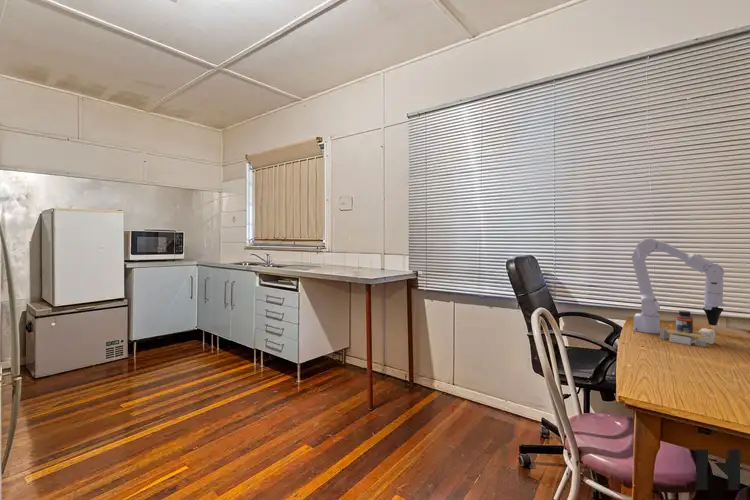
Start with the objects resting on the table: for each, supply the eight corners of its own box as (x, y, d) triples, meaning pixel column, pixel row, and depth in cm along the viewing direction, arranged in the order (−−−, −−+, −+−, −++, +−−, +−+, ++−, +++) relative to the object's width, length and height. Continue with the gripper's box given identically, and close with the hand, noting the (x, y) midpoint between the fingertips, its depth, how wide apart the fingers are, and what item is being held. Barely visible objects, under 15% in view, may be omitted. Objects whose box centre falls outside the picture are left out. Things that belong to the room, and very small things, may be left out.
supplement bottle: (686, 334, 178) (687, 309, 177) (695, 337, 172) (696, 312, 171) (672, 333, 178) (673, 309, 178) (681, 337, 172) (682, 312, 172)
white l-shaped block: (696, 343, 158) (696, 330, 158) (702, 340, 162) (702, 328, 162) (708, 345, 154) (709, 332, 154) (714, 342, 158) (714, 330, 158)
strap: (663, 331, 164) (663, 329, 164) (665, 330, 166) (665, 328, 166) (701, 338, 154) (701, 336, 154) (703, 337, 155) (703, 335, 155)
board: (650, 344, 161) (650, 330, 160) (670, 336, 173) (670, 323, 173) (698, 354, 148) (699, 339, 147) (716, 345, 160) (717, 331, 160)
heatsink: (669, 341, 161) (669, 334, 161) (675, 339, 165) (675, 332, 165) (690, 345, 155) (690, 338, 155) (696, 342, 159) (696, 335, 159)
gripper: (720, 295, 155) (719, 329, 155) (731, 292, 163) (730, 324, 164) (698, 293, 161) (697, 325, 161) (709, 290, 169) (708, 321, 169)
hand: (712, 324), depth 163 cm, fingers closed
